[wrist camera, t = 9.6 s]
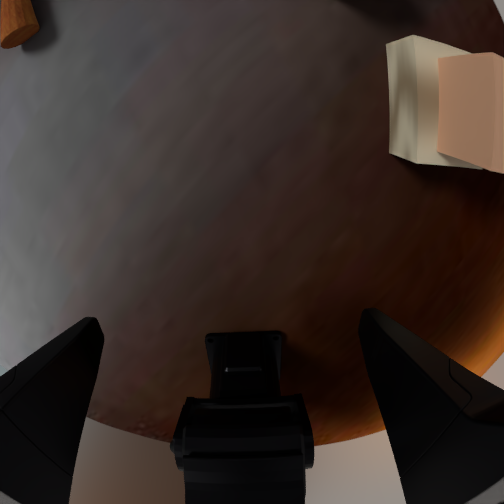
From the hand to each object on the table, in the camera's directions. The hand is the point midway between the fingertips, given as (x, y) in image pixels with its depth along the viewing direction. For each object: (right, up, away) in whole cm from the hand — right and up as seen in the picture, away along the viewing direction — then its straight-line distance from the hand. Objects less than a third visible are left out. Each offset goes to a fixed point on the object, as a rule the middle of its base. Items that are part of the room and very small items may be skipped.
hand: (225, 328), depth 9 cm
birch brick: (+13, +13, +8) cm, 20 cm away
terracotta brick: (+14, +11, +4) cm, 18 cm away
